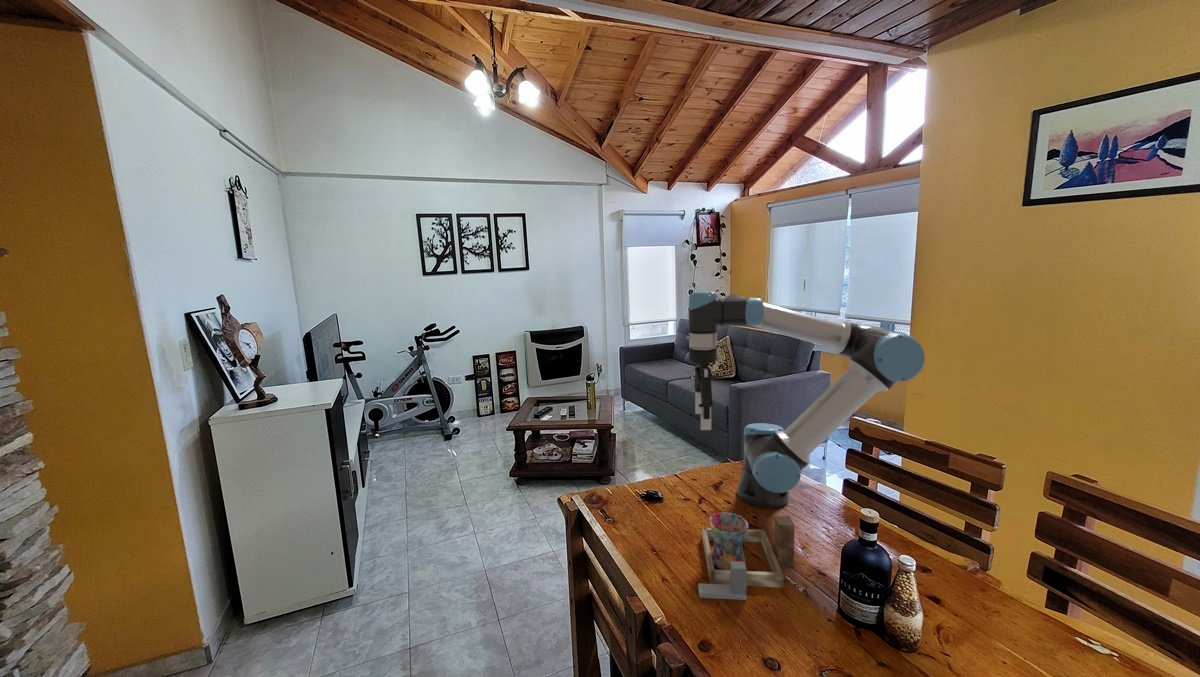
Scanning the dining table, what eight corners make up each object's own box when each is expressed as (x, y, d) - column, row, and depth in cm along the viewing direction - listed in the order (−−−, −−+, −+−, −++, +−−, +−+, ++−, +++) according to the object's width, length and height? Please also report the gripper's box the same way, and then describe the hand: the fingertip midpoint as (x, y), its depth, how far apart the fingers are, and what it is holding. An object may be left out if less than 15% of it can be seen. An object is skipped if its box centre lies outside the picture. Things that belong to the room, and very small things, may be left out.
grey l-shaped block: (743, 590, 101) (744, 561, 100) (746, 600, 98) (746, 569, 97) (698, 588, 102) (698, 559, 101) (699, 597, 99) (699, 567, 98)
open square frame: (780, 540, 118) (781, 501, 117) (802, 588, 101) (804, 543, 99) (702, 538, 121) (702, 499, 119) (710, 584, 103) (710, 540, 101)
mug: (737, 580, 104) (738, 538, 102) (701, 564, 110) (701, 524, 108) (758, 554, 113) (758, 515, 111) (723, 541, 119) (723, 504, 117)
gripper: (685, 340, 137) (685, 407, 140) (693, 356, 113) (694, 437, 116) (710, 340, 136) (710, 407, 139) (724, 355, 112) (723, 437, 115)
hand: (702, 421), depth 128 cm, fingers open, 13 cm apart
